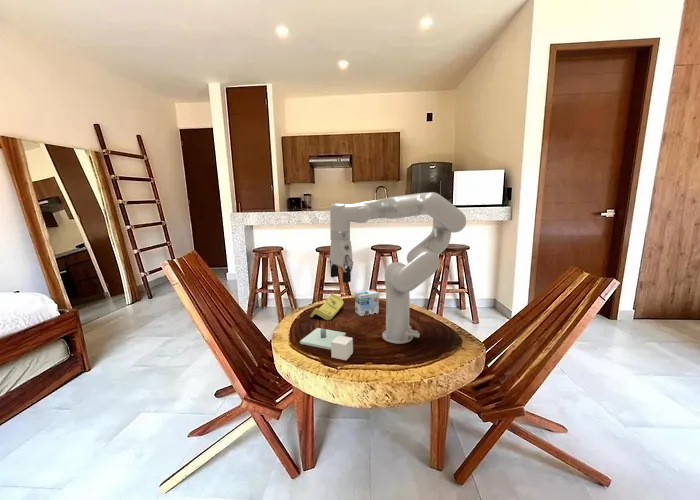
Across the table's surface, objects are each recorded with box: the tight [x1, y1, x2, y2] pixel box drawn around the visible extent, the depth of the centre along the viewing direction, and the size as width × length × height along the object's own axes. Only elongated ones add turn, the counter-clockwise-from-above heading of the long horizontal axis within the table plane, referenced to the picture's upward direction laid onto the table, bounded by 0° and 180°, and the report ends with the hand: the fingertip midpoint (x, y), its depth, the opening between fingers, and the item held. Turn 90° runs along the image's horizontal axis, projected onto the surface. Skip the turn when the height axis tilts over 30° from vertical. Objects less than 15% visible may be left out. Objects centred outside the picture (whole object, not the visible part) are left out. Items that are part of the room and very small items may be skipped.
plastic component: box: [309, 293, 344, 321], centre depth 156 cm, size 20×7×10 cm
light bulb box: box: [354, 289, 380, 317], centre depth 155 cm, size 11×7×11 cm, turn 114°
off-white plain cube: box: [330, 335, 354, 361], centre depth 113 cm, size 6×6×6 cm
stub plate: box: [299, 327, 347, 351], centre depth 126 cm, size 14×14×4 cm
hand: (340, 279), depth 119 cm, fingers open, 9 cm apart
